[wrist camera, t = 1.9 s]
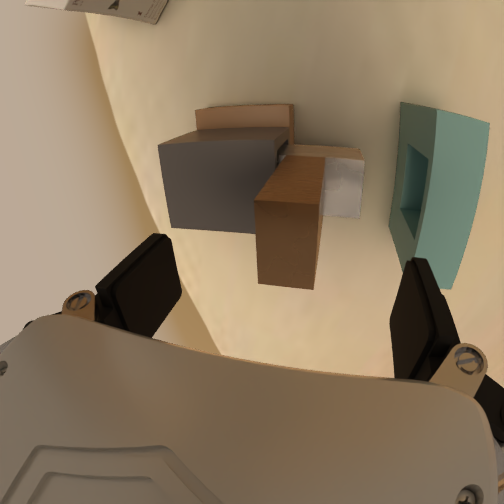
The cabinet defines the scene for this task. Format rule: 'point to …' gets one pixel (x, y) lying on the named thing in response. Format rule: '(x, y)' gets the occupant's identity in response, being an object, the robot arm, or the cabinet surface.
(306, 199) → the multicoloured piece
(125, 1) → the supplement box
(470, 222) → the socket
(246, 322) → the cabinet surface
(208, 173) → the grey block with backplate
